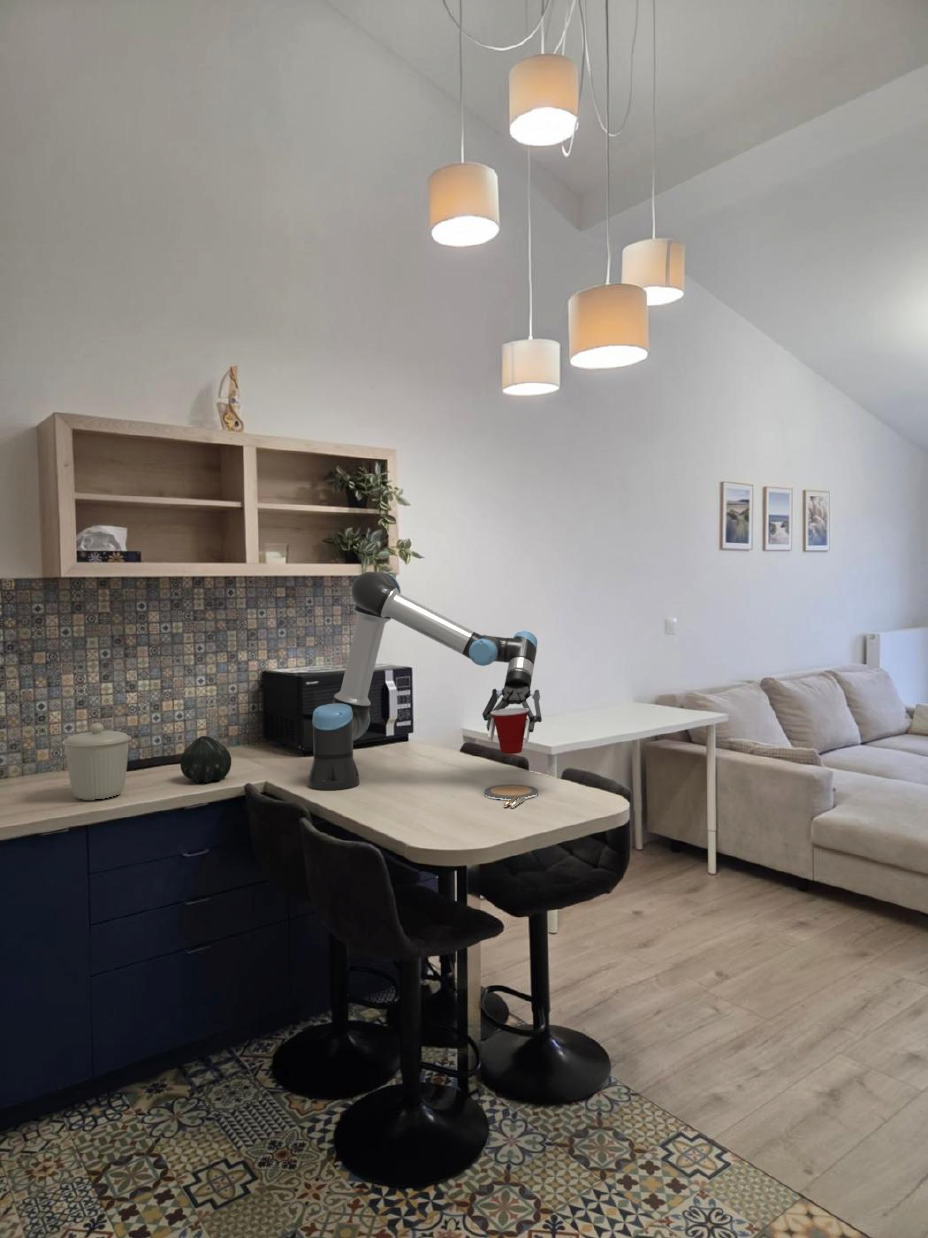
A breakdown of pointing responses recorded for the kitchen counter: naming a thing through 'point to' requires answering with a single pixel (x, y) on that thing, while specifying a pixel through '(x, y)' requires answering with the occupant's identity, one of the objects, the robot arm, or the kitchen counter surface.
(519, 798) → the wire stubs
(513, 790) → the coaster
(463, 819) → the kitchen counter surface
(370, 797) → the kitchen counter surface
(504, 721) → the plastic cup
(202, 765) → the squash
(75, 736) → the canister
